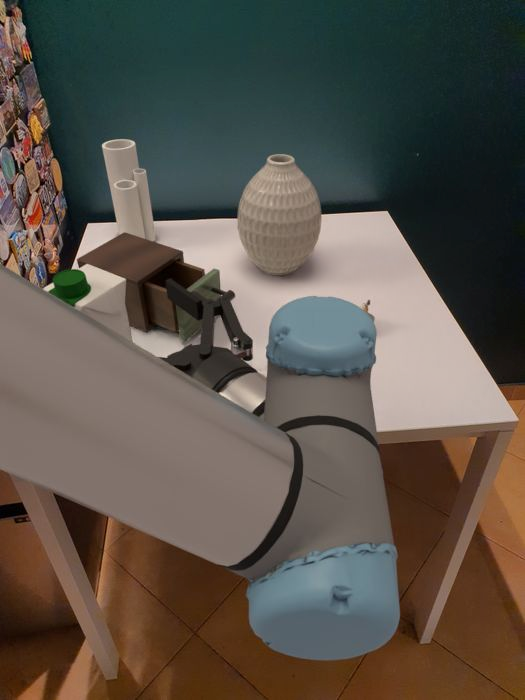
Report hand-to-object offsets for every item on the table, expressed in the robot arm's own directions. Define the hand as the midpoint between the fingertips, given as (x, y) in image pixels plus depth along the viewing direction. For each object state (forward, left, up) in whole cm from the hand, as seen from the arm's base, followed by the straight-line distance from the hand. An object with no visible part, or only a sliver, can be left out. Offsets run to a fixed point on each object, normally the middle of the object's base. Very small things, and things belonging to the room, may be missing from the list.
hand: (121, 308), depth 62 cm
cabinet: (+3, +29, -19) cm, 34 cm away
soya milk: (-4, +9, -19) cm, 21 cm away
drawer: (+10, +21, -18) cm, 29 cm away
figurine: (+39, +10, -19) cm, 44 cm away
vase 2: (+32, +34, -19) cm, 50 cm away
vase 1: (+6, +55, -19) cm, 58 cm away
